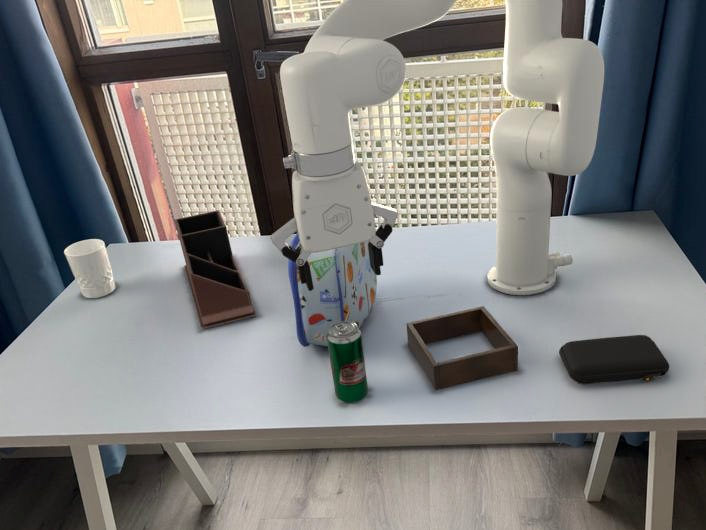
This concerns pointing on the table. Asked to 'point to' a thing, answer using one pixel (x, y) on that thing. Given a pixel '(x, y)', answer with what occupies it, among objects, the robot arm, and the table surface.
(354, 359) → the soda can
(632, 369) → the carrying case
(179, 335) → the table surface
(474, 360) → the crate
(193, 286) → the desk organizer
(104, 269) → the white cup
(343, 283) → the lunch box
